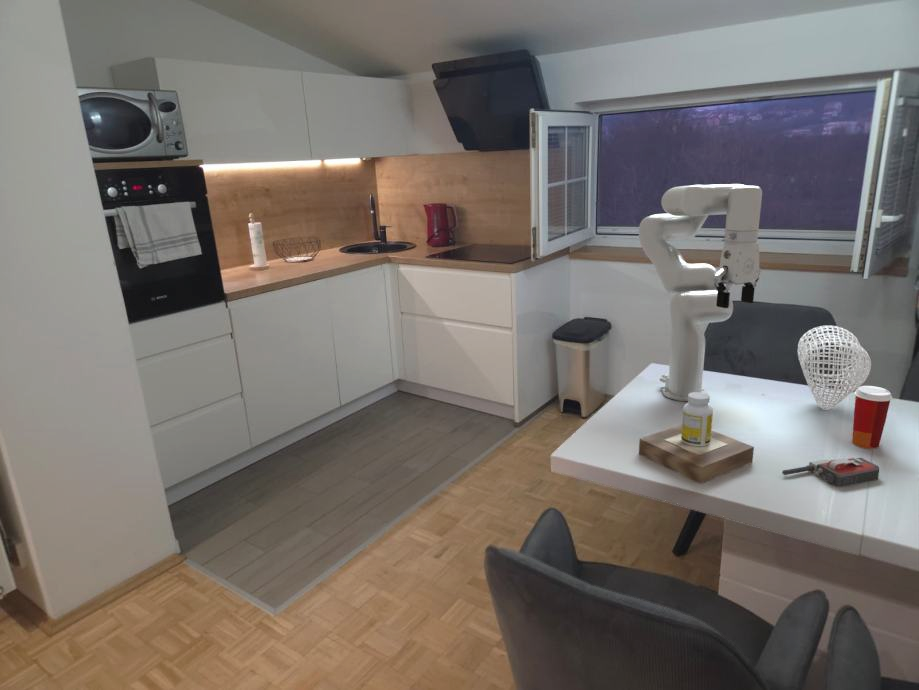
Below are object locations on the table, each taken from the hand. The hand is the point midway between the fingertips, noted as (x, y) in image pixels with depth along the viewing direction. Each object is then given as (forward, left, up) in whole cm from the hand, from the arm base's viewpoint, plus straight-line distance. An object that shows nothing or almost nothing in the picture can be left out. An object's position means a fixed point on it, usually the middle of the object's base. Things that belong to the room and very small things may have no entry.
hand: (734, 304), depth 161 cm
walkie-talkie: (+33, -7, -33) cm, 47 cm away
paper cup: (+28, +16, -32) cm, 46 cm away
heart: (+10, +30, -32) cm, 45 cm away
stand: (+10, -24, -32) cm, 41 cm away
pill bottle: (+10, -24, -28) cm, 38 cm away
